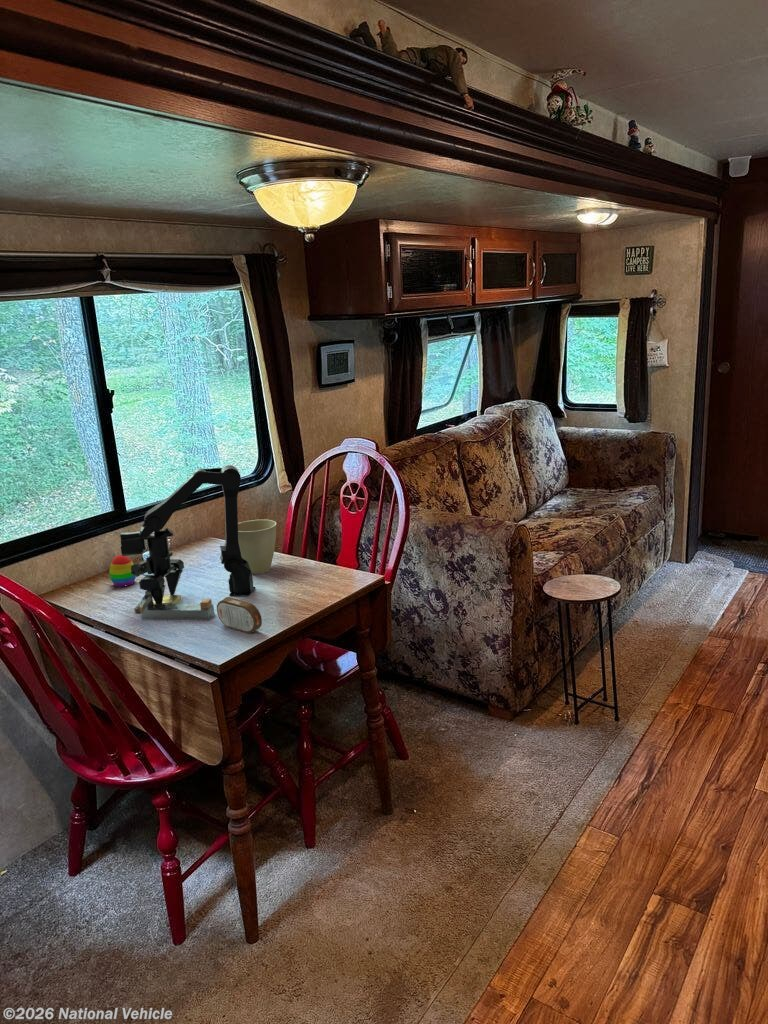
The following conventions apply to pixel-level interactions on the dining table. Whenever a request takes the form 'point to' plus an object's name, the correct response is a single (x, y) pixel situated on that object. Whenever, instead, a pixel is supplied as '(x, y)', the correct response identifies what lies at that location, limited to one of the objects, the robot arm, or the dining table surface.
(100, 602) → the dining table surface
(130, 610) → the dining table surface
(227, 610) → the tin
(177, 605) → the plane body
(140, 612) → the cam lever
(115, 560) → the decorative egg
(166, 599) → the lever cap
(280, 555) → the dining table surface
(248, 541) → the plant pot
